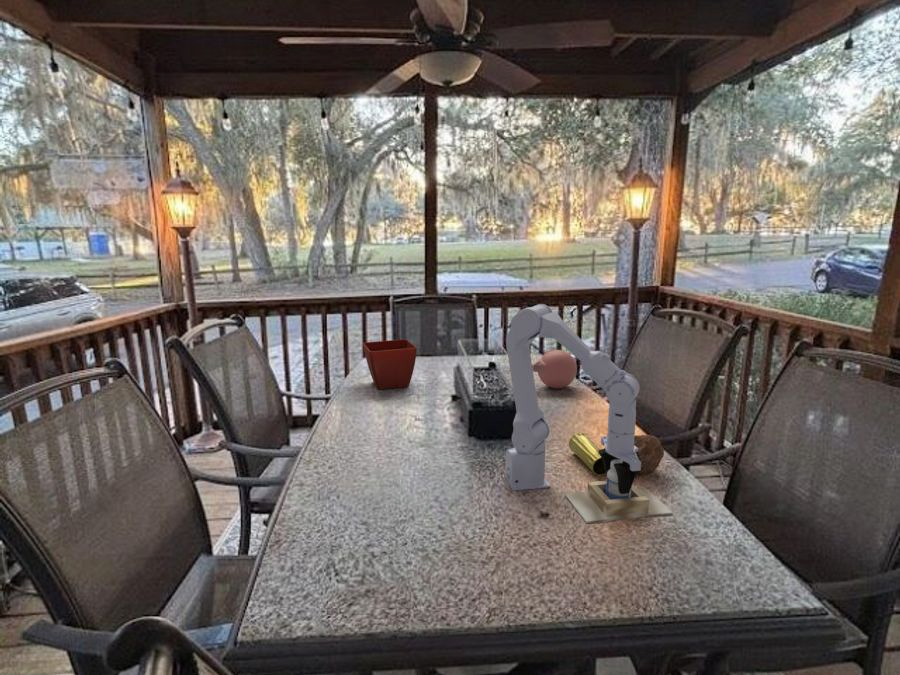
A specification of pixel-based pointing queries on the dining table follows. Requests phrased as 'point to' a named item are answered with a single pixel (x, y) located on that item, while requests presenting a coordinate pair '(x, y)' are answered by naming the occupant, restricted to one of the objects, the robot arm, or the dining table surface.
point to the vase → (587, 452)
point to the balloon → (556, 369)
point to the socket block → (615, 504)
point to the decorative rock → (648, 452)
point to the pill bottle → (614, 483)
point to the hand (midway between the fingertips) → (617, 486)
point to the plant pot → (390, 362)
